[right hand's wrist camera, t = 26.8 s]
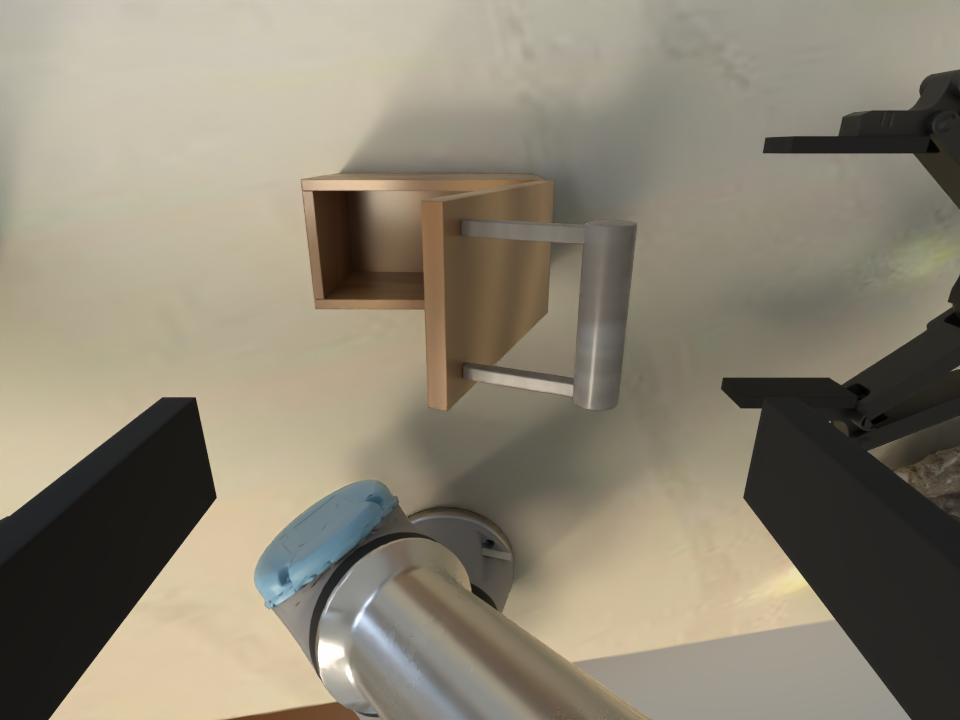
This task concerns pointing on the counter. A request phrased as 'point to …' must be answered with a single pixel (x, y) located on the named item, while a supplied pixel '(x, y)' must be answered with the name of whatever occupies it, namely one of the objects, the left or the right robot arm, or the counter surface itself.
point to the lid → (518, 292)
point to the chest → (377, 233)
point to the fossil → (937, 479)
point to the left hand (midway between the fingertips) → (751, 279)
